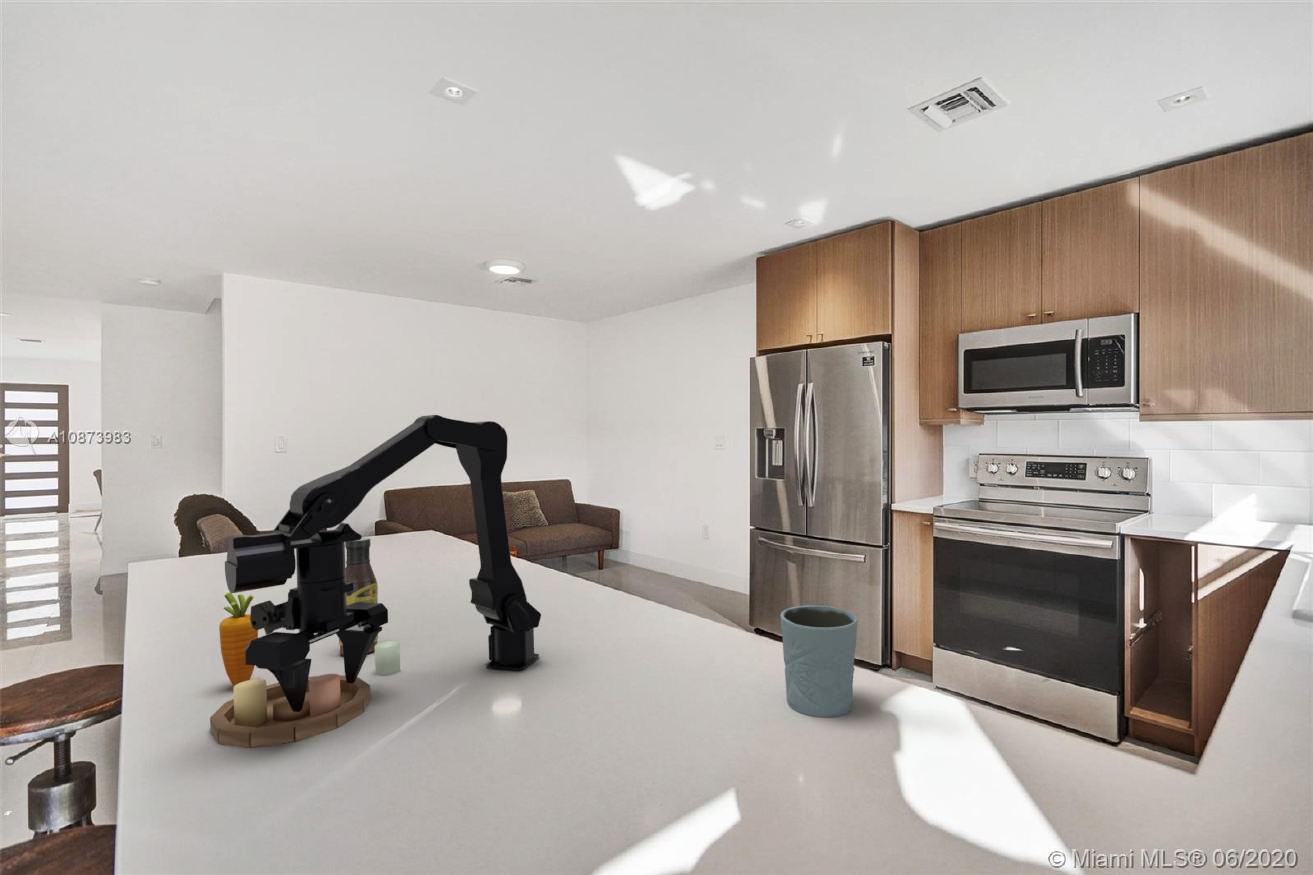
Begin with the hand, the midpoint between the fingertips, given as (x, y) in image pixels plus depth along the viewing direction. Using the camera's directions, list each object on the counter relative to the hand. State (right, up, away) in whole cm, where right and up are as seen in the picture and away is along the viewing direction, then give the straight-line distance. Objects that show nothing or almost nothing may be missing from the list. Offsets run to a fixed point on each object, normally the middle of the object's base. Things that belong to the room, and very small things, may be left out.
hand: (325, 696), depth 84 cm
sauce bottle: (-9, -4, +28) cm, 30 cm away
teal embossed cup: (+66, -2, +2) cm, 66 cm away
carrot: (-19, -4, +11) cm, 22 cm away
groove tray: (-5, -4, +1) cm, 6 cm away
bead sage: (+1, -3, +16) cm, 17 cm away
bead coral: (0, -3, 0) cm, 3 cm away
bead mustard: (-9, -3, -1) cm, 10 cm away
